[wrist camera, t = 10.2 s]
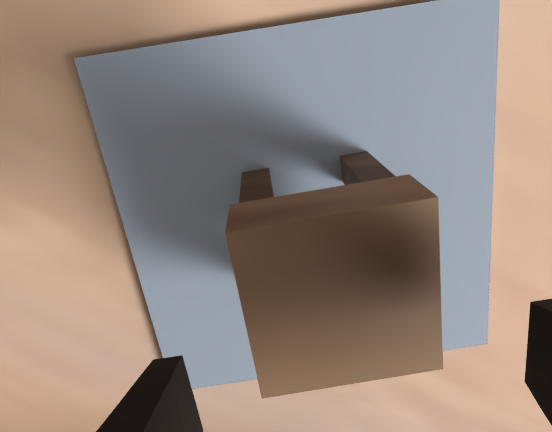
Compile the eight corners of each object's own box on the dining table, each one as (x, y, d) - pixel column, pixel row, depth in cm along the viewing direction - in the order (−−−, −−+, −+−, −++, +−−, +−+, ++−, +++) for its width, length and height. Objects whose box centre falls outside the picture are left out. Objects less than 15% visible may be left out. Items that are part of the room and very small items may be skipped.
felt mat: (482, 338, 19) (487, 343, 19) (174, 385, 19) (173, 391, 19) (493, -9, 14) (499, -10, 14) (78, 58, 14) (73, 57, 14)
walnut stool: (382, 266, 17) (443, 368, 12) (259, 286, 17) (261, 398, 12) (372, 144, 16) (438, 196, 10) (235, 168, 16) (225, 232, 10)
